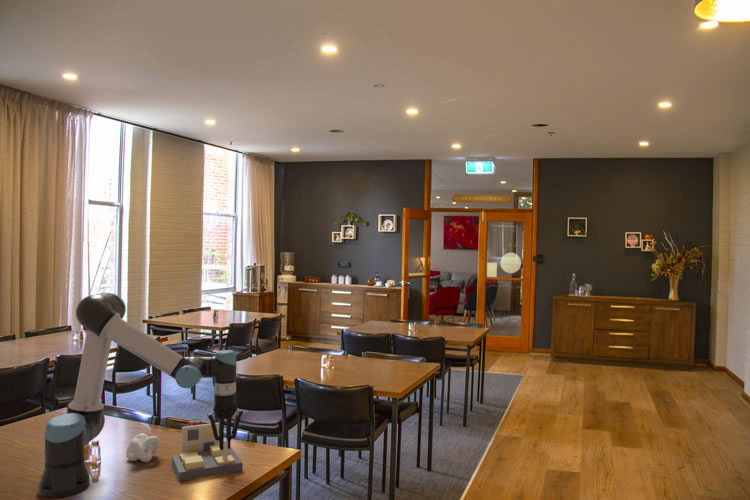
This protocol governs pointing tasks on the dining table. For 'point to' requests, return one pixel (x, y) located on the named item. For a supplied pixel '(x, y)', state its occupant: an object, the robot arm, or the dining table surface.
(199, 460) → the button
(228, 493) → the dining table surface
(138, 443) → the white knot
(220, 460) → the button
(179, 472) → the button board
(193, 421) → the beverage can
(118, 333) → the robot arm
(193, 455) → the button
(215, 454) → the button
